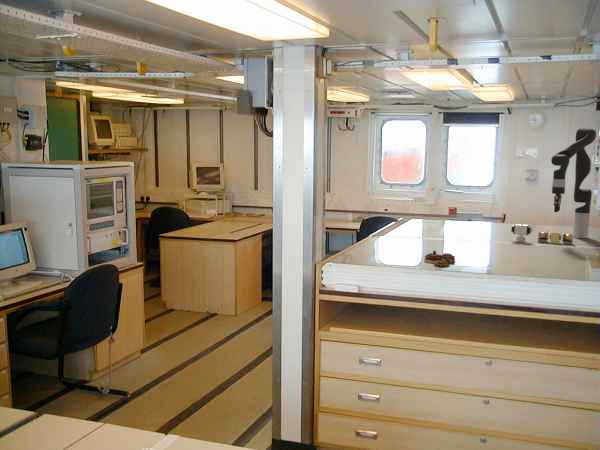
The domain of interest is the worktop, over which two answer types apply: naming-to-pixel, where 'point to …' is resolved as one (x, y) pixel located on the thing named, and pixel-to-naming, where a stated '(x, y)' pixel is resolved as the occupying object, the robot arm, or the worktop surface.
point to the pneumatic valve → (521, 231)
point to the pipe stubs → (566, 238)
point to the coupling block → (555, 237)
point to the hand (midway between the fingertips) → (556, 211)
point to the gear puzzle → (440, 259)
